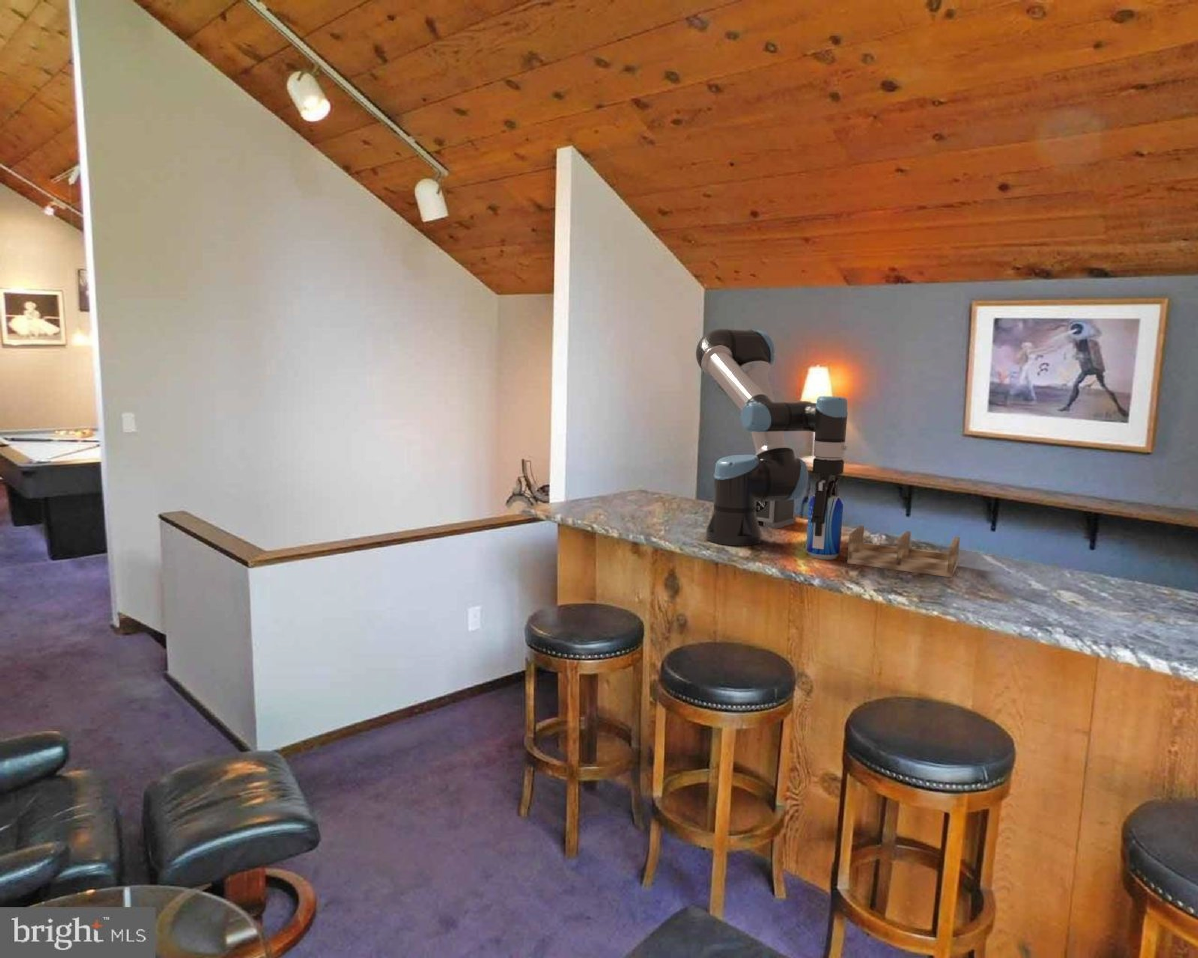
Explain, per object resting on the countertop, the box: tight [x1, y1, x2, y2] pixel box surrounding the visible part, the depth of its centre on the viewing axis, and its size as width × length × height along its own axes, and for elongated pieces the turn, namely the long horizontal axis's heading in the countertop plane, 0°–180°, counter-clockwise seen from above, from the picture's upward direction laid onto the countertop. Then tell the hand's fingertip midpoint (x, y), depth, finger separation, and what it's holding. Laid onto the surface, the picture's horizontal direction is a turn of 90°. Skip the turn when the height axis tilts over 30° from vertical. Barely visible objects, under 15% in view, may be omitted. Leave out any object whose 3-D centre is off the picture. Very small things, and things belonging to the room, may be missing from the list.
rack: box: [846, 525, 961, 578], centre depth 199 cm, size 24×13×7 cm, turn 61°
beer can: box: [805, 493, 844, 560], centre depth 205 cm, size 8×8×16 cm
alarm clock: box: [756, 499, 797, 529], centre depth 248 cm, size 18×13×18 cm
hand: (823, 544), depth 206 cm, fingers open, 10 cm apart
